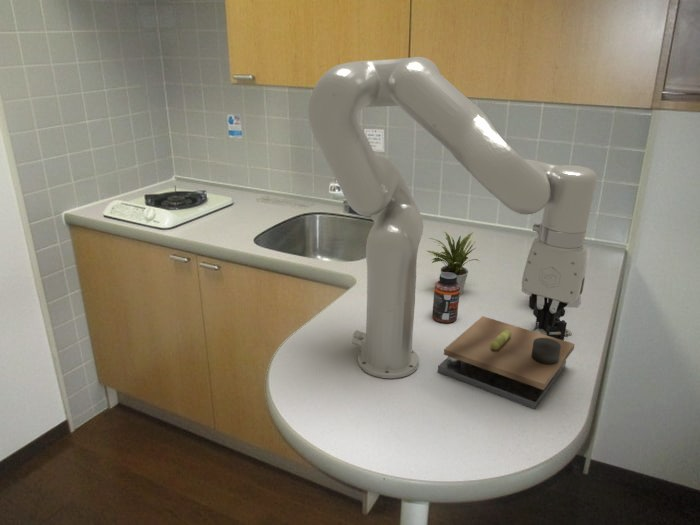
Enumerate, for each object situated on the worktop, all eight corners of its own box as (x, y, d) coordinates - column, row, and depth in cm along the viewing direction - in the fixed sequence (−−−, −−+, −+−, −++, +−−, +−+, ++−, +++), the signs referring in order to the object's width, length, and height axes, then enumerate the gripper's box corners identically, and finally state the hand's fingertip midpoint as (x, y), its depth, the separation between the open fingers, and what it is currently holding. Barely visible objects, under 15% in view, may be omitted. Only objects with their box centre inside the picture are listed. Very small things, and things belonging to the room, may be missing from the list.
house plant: (441, 275, 162) (445, 219, 156) (487, 287, 155) (494, 230, 149) (416, 292, 152) (420, 233, 145) (465, 306, 144) (471, 245, 138)
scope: (544, 288, 121) (527, 270, 130) (535, 346, 126) (520, 324, 136) (581, 288, 122) (563, 270, 131) (571, 345, 127) (554, 324, 136)
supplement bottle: (451, 326, 134) (455, 282, 130) (428, 320, 137) (431, 276, 133) (460, 316, 139) (464, 273, 135) (437, 310, 142) (441, 268, 138)
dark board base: (437, 372, 116) (439, 354, 115) (475, 337, 130) (477, 320, 128) (534, 409, 105) (537, 389, 104) (565, 366, 119) (568, 349, 117)
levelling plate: (443, 354, 114) (445, 336, 112) (481, 320, 127) (483, 303, 126) (543, 390, 103) (546, 369, 101) (573, 349, 116) (577, 330, 115)
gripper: (513, 232, 103) (499, 322, 110) (600, 252, 95) (579, 348, 102) (528, 222, 109) (514, 308, 116) (611, 240, 101) (590, 332, 108)
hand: (544, 327), depth 109 cm, fingers closed
